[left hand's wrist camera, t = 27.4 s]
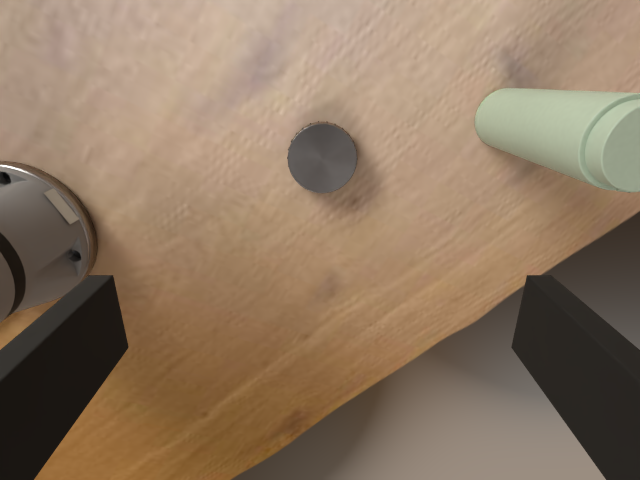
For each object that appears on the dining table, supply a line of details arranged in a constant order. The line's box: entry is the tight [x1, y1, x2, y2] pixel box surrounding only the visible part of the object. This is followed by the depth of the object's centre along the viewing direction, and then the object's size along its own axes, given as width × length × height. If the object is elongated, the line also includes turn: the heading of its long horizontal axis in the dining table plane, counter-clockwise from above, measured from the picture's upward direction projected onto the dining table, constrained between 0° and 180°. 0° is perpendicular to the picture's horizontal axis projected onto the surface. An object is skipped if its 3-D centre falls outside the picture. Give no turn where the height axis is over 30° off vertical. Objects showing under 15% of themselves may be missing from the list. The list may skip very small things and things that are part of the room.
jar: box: [475, 88, 640, 193], centre depth 30 cm, size 6×6×18 cm
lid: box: [287, 121, 357, 193], centre depth 39 cm, size 7×7×2 cm
